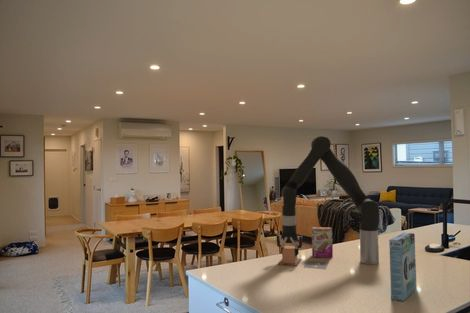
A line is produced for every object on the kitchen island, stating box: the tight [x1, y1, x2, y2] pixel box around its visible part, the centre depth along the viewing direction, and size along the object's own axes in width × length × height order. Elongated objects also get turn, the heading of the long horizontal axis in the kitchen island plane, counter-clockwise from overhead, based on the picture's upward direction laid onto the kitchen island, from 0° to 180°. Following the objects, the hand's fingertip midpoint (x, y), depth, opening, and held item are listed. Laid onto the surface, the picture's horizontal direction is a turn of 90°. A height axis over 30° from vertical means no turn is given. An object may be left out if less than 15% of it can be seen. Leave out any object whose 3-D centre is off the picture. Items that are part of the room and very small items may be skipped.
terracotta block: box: [281, 245, 298, 264], centre depth 194 cm, size 6×9×7 cm, turn 160°
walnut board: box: [277, 257, 302, 268], centre depth 194 cm, size 10×13×1 cm
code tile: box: [303, 260, 329, 270], centre depth 189 cm, size 11×14×1 cm
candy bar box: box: [311, 226, 334, 259], centre depth 206 cm, size 11×5×16 cm, turn 84°
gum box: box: [388, 232, 418, 302], centre depth 147 cm, size 20×5×23 cm, turn 140°
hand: (289, 255), depth 194 cm, fingers open, 6 cm apart
